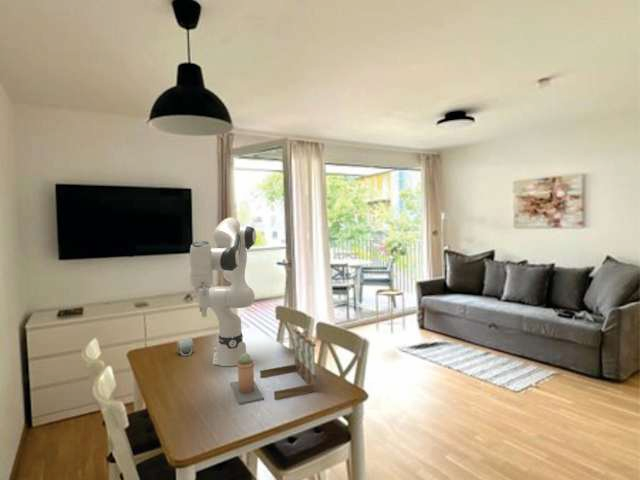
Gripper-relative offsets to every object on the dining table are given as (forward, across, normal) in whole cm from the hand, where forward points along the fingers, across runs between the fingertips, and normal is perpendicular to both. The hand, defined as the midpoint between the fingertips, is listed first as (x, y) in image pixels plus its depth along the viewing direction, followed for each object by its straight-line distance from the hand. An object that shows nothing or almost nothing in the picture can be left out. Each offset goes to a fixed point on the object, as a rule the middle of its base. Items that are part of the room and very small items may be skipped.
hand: (203, 314), depth 153 cm
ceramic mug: (+34, +55, +5) cm, 65 cm away
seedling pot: (+33, -5, -16) cm, 37 cm away
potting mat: (+34, -5, -16) cm, 38 cm away
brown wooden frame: (+34, -5, -34) cm, 48 cm away
